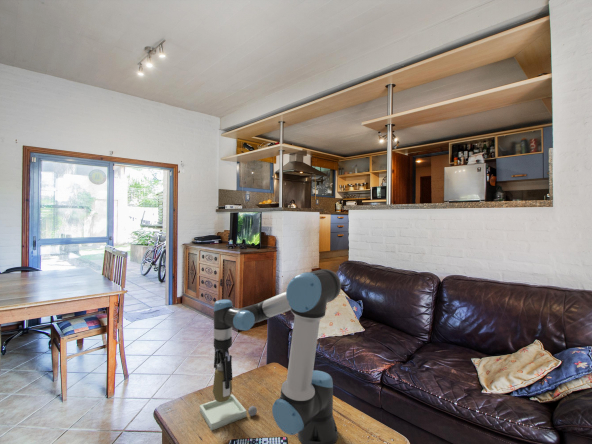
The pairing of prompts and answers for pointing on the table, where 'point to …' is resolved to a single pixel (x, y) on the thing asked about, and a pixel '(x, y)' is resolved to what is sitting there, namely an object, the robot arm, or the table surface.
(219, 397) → the squeeze bottle
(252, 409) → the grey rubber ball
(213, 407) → the tray
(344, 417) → the table surface
